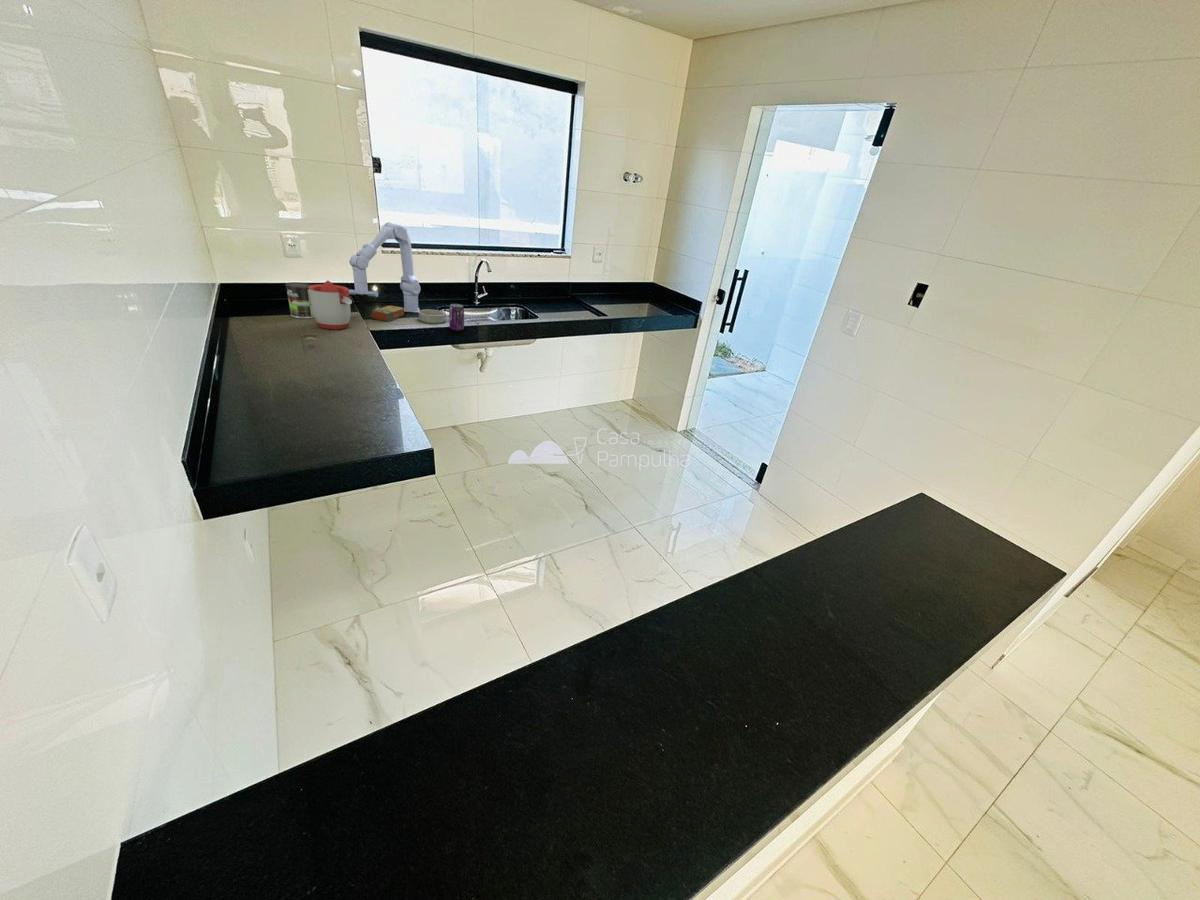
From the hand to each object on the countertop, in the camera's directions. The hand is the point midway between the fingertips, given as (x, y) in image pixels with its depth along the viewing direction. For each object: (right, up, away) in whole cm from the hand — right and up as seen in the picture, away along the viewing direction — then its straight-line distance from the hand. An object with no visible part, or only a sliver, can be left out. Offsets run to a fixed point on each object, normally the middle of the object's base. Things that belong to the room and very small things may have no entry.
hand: (363, 310), depth 231 cm
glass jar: (-21, -7, -13) cm, 26 cm away
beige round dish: (+30, -2, +12) cm, 33 cm away
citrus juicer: (-2, -14, -21) cm, 26 cm away
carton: (+10, -2, +5) cm, 12 cm away
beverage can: (+46, -9, +3) cm, 47 cm away
